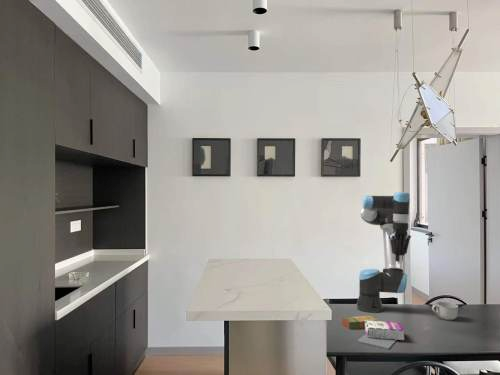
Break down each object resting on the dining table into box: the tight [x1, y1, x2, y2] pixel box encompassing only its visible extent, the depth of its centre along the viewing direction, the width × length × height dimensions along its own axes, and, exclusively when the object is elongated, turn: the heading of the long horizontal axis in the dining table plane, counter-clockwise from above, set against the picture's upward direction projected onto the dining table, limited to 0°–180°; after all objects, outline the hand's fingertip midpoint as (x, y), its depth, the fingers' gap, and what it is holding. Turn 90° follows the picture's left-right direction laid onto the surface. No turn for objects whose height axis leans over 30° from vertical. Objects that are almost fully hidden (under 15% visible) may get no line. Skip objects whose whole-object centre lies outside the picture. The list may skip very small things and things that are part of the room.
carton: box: [341, 315, 379, 330], centre depth 190 cm, size 8×16×4 cm, turn 101°
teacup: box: [431, 300, 459, 321], centre depth 204 cm, size 14×11×8 cm
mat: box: [356, 332, 398, 350], centre depth 170 cm, size 15×14×1 cm
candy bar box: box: [364, 320, 405, 341], centre depth 176 cm, size 11×5×16 cm
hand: (398, 267), depth 190 cm, fingers closed
